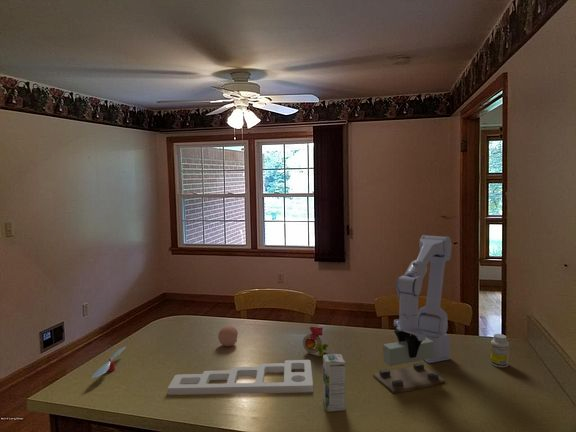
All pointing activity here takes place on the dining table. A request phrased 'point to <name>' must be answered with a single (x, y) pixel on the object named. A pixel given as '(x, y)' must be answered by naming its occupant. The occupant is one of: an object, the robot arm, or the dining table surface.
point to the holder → (291, 383)
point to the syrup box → (333, 382)
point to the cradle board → (408, 378)
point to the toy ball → (228, 336)
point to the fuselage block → (406, 352)
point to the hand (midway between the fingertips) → (408, 354)
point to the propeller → (107, 365)
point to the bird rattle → (311, 343)
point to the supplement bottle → (500, 351)
